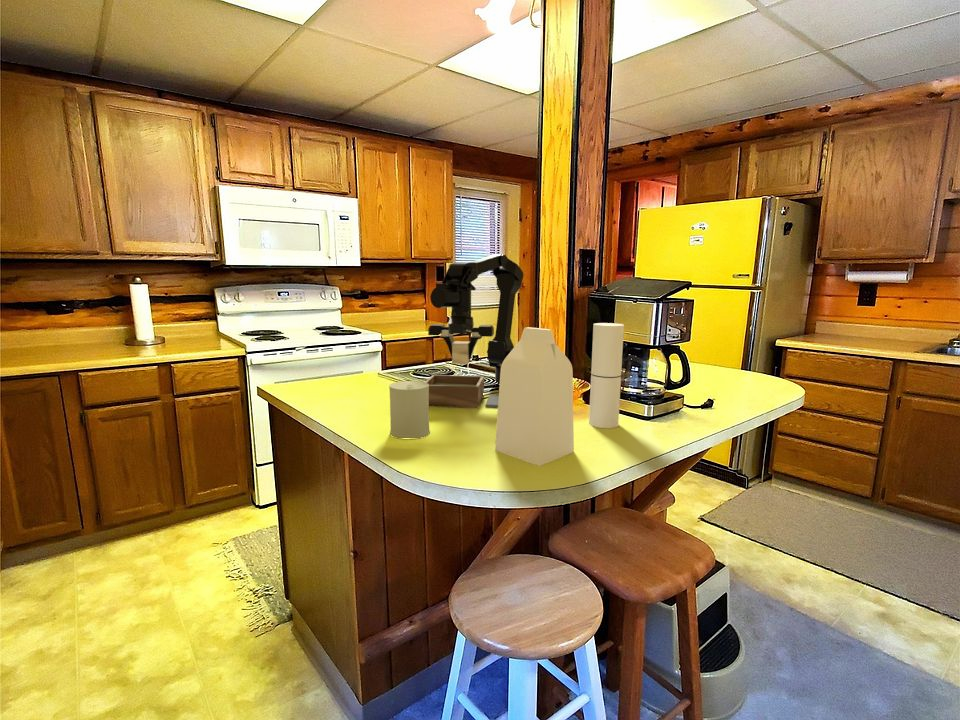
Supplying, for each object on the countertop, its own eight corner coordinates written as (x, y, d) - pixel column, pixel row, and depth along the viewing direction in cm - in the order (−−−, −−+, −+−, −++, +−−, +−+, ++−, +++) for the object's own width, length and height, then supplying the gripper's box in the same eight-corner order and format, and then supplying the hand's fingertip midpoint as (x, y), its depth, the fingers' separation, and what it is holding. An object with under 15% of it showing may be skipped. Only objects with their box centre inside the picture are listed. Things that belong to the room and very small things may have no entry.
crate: (432, 393, 155) (432, 374, 154) (483, 395, 153) (483, 376, 152) (421, 406, 140) (421, 385, 139) (477, 408, 138) (477, 387, 137)
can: (392, 441, 111) (390, 388, 109) (388, 428, 119) (387, 379, 117) (433, 437, 113) (432, 386, 111) (426, 426, 122) (425, 378, 120)
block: (455, 361, 150) (455, 341, 149) (470, 361, 149) (470, 341, 148) (452, 363, 146) (452, 343, 144) (467, 364, 145) (467, 343, 144)
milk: (494, 450, 105) (496, 328, 101) (529, 438, 113) (532, 324, 109) (539, 466, 97) (543, 333, 92) (573, 451, 105) (578, 329, 100)
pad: (489, 396, 151) (489, 394, 151) (516, 397, 150) (516, 395, 150) (485, 407, 139) (485, 404, 139) (514, 408, 138) (514, 405, 138)
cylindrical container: (587, 426, 122) (592, 325, 118) (590, 418, 129) (594, 322, 125) (617, 429, 120) (623, 326, 116) (618, 421, 127) (624, 323, 123)
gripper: (423, 307, 138) (424, 363, 141) (490, 308, 136) (489, 365, 138) (432, 305, 149) (432, 356, 152) (494, 306, 146) (493, 358, 149)
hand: (461, 359), depth 147 cm, fingers closed on block, 5 cm apart
